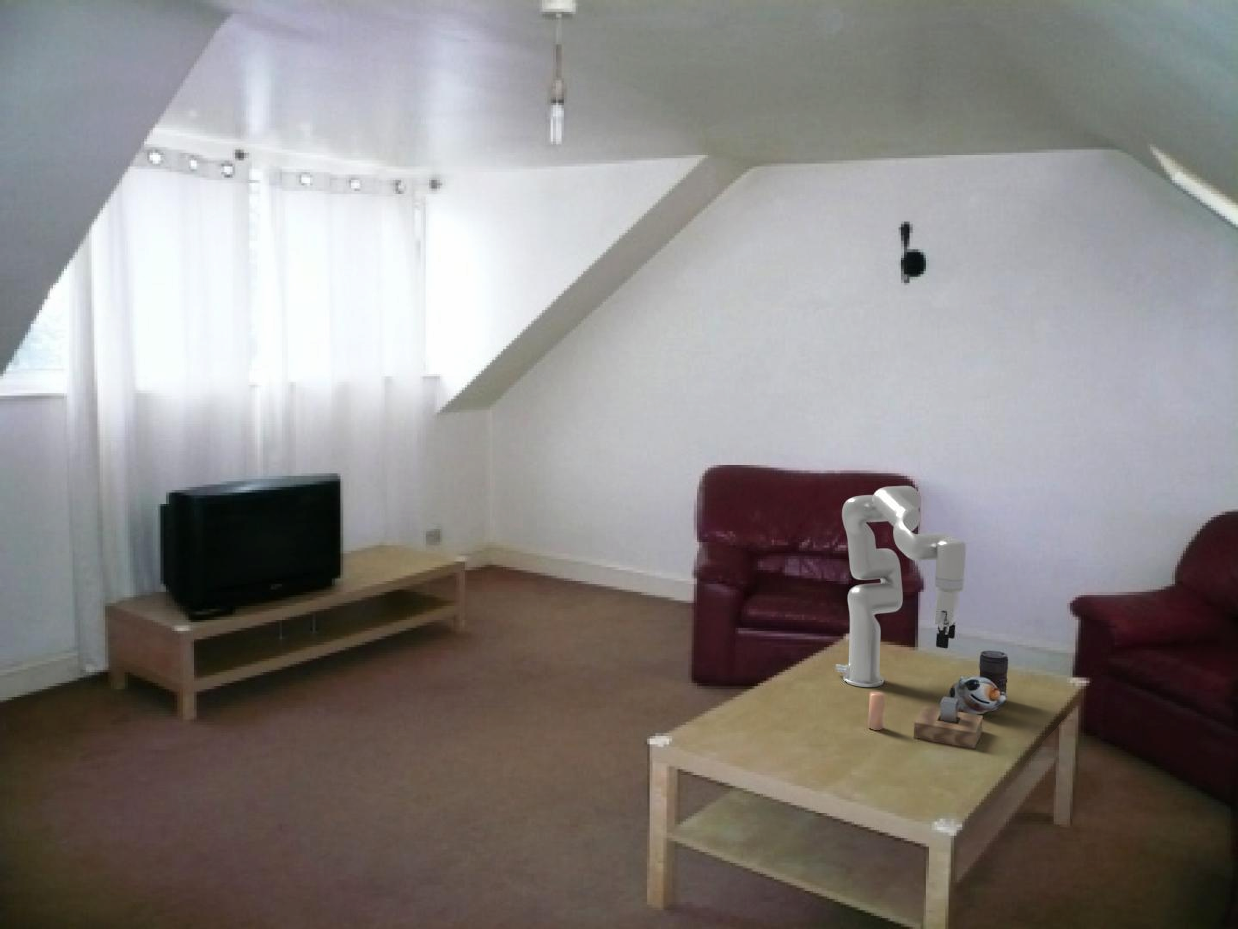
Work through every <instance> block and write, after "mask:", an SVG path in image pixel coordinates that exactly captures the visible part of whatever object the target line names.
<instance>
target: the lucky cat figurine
mask: <svg viewBox="0 0 1238 929" xmlns="http://www.w3.org/2000/svg"><path fill="white" fill-rule="evenodd" d="M979 676H980V675H979ZM979 676H978V675H977V676H975V675H974V676H969V677H967V678H966V677H965V676H964V675H963V676H961V677H960V678H959V680H958V681H957V682H955V683H954V684H952V686H951V688H950V689H949V694H948V697H950V698H955V699H959V704H958V712H963V713H969V714H975V715H982V714H985V713H987V712H992V711H993V712H994V711H996V710H998V708H999V707H1000V706H1001V705H1003V704H1004V702H1005V701H1006V700H1007V698H1008V693H1006V694H1005V692H1000V690H999V689H998V688H997V687H996V685H995V684H994V683H993V682H991V681H990V680H989V679H987V678H982V677H979ZM1002 703H1003V704H1002Z"/></svg>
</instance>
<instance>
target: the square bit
mask: <svg viewBox="0 0 1238 929" xmlns="http://www.w3.org/2000/svg"><path fill="white" fill-rule="evenodd" d="M958 704H959V699H955V698H950V697H949V696H943V697H942V699H941V700H940V708H939V709H940V721H942V722H948V723H954V724H958Z"/></svg>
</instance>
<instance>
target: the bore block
mask: <svg viewBox="0 0 1238 929" xmlns="http://www.w3.org/2000/svg"><path fill="white" fill-rule="evenodd" d="M940 709H941V708H939V707H931V706H926V705H925V706H923V707H922V709H921V711H920V712H919V714H918V715H917V717H916V719H915V721H914V722H913V723H914V725H913V727H914V728H913V738H914V737H917V738H921V739H920V740H923V739H926V740H925V741H928V740H930V741H929V742H935V743H939V742H943V743H942V744H945V743H947V744H946V745H950V744H952V745H951V746H956V745H957V746H956V747H961V746H962V747H963V748H968V749H972V748H976V746H977V743H978V742H979V739H980V738H981V735H982V732H983V720H984V719H983V718H984V715H982V714H977V715H975V714H969V713H963V712H958V724H954V723H948V722H942V721H940ZM917 738H916V739H917Z"/></svg>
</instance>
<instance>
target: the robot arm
mask: <svg viewBox="0 0 1238 929" xmlns="http://www.w3.org/2000/svg"><path fill="white" fill-rule="evenodd" d="M921 504H922V499H921V495H920V493H919V491H918V490H917V489H916V488H915V487H912V486H910V485H897V486H896V485H895V486H884V487H881V488H878V489H877V490H876V491H875V492H874V494H866V495H865V494H864V495H857V496H853V497H852V496H851V498H848V499H847V500H846V501H845V502H844V504H843V506H842V512H841V518H842V523H843V527H844V530H845V533H846V537H847V548H848V549H847V550H848V559H849V570H850V572H851V573H850V574H851V576H852V577H853V578H854V579H856V580H859V581H860V580H861V581H863V580H864V581H867V580H868V581H869V580H878V579H880V582H877V583H874V582H873V583H864V584H862V583H861V584H858V585H855V586H853V587H851V588H850V589H849V591H848V594H847V605H848V611H849V643H848V646H849V648H848V664H845V665H844V664H841V663H840V664H838V663H836V664H835V671H836V672H838V673H843V675H842V676H843V677H842V678H843V679H842V680H843V681H844V682H845V681H846V682H847V684H849V685H851V686H854V687H861V688H875V687H880V686H882V685H883V684H884V683H885V682H884V680H885V679H884V677H883V676H881V675H880V657H881V656H880V655H881V654H880V653H881V625H880V623H879V621H878V620H877V618H876V616H875V615H878V614H887V613H895V612H897V611H899V610H900V609H901V607H902V605H903V600H904V599H903V597H904V595H903V584H902V572H901V563H900V559H899V557H898V555H897V553H896V552H895V551H894V550H892V549H890V548H877V546H876V537H875V534H874V532H873V530H872V529H871V527H870V526H869V525H868V524H867V523H877V522H881V523H882V522H888V523H889V524H890V525H891V526H892V527H893V531H892V532H893V541H894V543H895V545H896V548H898V549H899V551H900V552H901V553H902V554H904V556H906V557H907V558H908V559H910V560H912V561H915V562H916V561H917V562H921V561H932V560H935V578H934V580H935V581H934V582H935V583H934V588H935V589H936V590H937V592H936V593H937V594H936V597H935V598H936V599H935V606H934V607H935V608H934V615H933V616H934V618H933V624H934V625H937V624H938V625H937V630H936V638H935V639H936V640H935V647H936V648H940V649H948V648H949V643H950V642H949V639H955V637H956V620H957V618H958V612H959V598H960V597H959V596H960V592H962V591H964V579H965V567H966V566H965V565H966V552H967V551H966V550H967V548H966V547H967V546H966V543H965V542H964V541H963V540H961V539H958V538H954V537H953V536H952V535H950V534H949V533H946V532H934V533H933V532H931V533H930V532H929V533H919V534H917V533H914V532H913V531H914V530H915V529H916V528H917V527H918V526H919V524H920V522H921V517H922V516H921V513H920V512H921V511H919V509H920V507H921ZM846 682H845V683H846Z"/></svg>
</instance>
